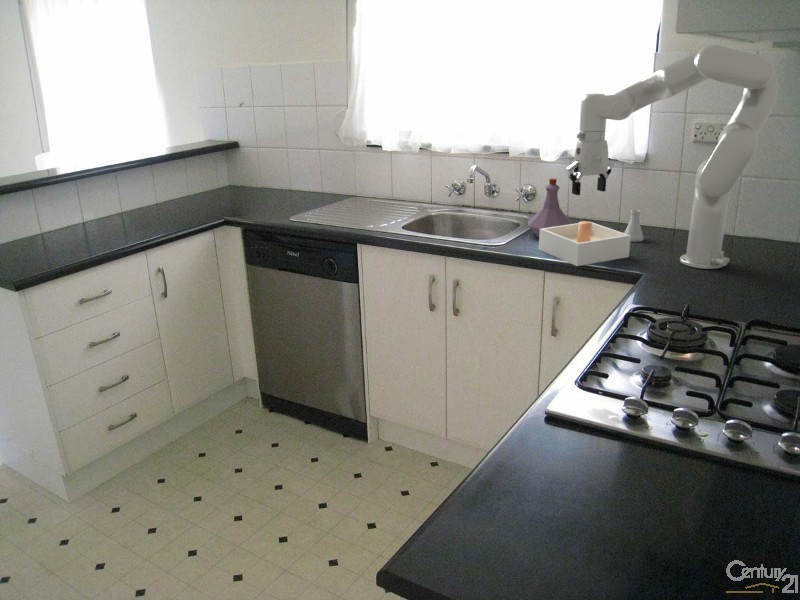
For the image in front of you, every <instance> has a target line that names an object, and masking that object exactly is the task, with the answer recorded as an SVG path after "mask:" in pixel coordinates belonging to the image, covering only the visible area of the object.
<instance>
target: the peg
mask: <svg viewBox="0 0 800 600" xmlns="http://www.w3.org/2000/svg"><path fill="white" fill-rule="evenodd" d="M591 222H592V221H583V220H581V221H579V222H578V223H579V224H578V238H577V242H579V243H581V242H587V241H590V238H591V226H592V223H593V222H592V223H591Z"/></svg>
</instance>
